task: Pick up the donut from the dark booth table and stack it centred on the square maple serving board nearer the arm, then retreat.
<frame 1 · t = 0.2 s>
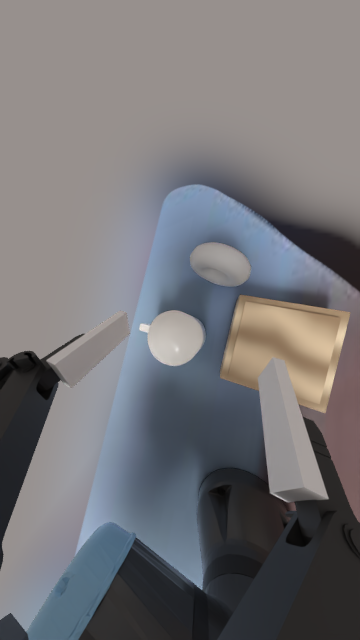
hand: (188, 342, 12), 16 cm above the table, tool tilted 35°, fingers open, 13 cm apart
maple board: (269, 345, 24), on the table
donut: (218, 278, 27), on the table
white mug: (186, 334, 28), on the table
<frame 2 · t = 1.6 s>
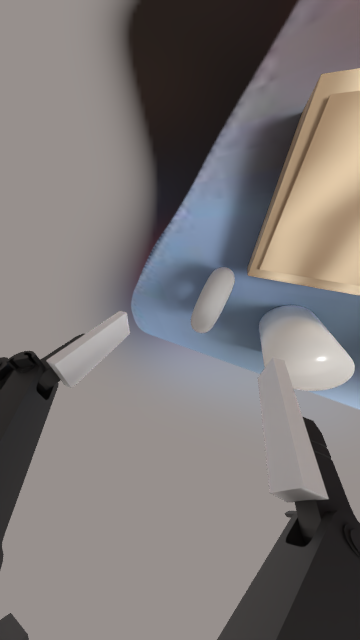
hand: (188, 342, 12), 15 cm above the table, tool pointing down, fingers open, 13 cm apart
maple board: (338, 213, 15), on the table
donut: (216, 289, 24), on the table
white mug: (285, 326, 23), on the table
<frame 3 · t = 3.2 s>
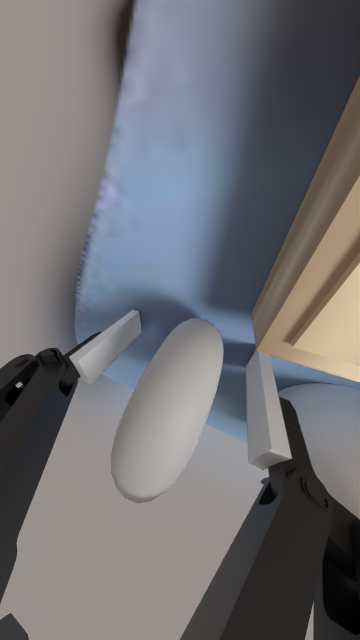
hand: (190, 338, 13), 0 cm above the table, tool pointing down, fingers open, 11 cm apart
donut: (195, 338, 13), on the table
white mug: (323, 412, 12), on the table
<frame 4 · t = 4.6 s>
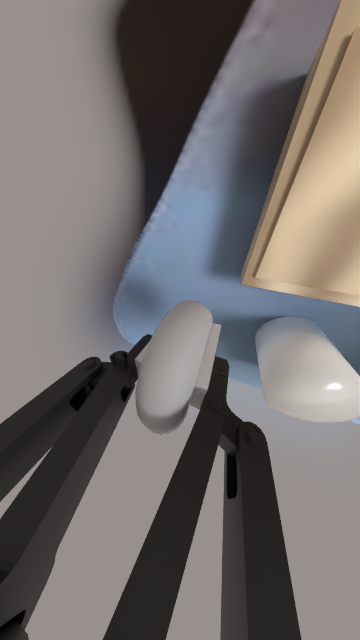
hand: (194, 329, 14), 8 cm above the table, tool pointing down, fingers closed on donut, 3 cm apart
maple board: (350, 208, 12), on the table
donut: (196, 324, 15), point 7 cm above the table, touching gripper
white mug: (285, 339, 20), on the table
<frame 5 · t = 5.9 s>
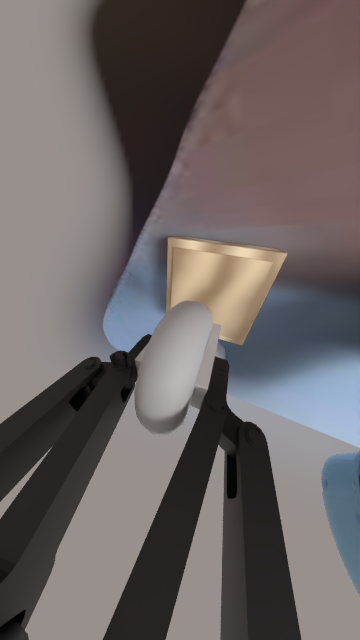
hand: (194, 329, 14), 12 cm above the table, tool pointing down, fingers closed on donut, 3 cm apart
maple board: (213, 288, 23), on the table
donut: (196, 324, 15), point 11 cm above the table, touching gripper
when the fingers open (5 cm above the table, at t = 7.4 s): donut stays where it is, resting on maple board.
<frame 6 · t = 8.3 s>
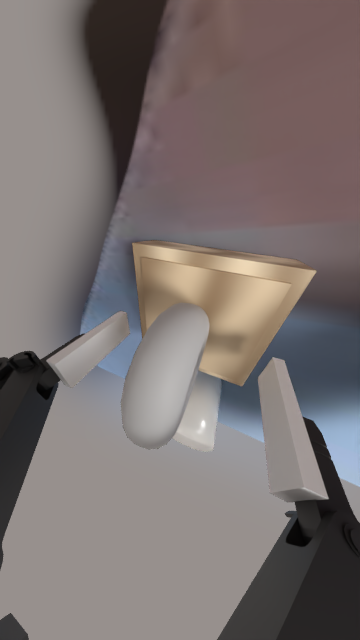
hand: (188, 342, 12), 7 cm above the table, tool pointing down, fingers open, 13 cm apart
maple board: (204, 309, 18), on the table
donut: (193, 327, 15), point 4 cm above the table, touching maple board
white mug: (200, 379, 26), on the table
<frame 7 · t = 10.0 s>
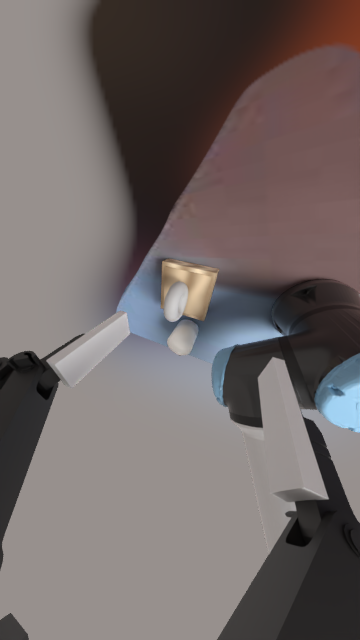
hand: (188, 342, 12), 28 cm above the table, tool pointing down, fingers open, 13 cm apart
maple board: (188, 288, 40), on the table
donut: (183, 294, 37), point 4 cm above the table, touching maple board
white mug: (187, 328, 49), on the table
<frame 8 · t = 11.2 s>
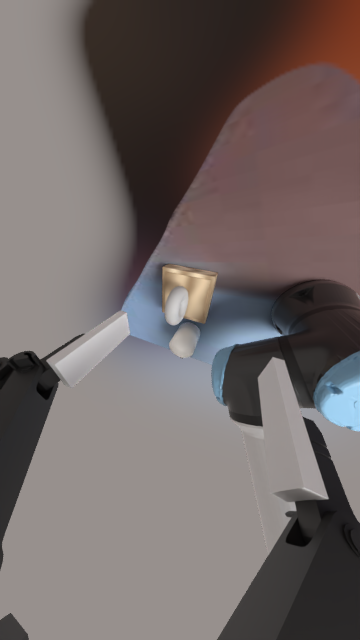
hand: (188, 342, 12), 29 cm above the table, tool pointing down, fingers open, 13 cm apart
maple board: (189, 292, 41), on the table
donut: (184, 297, 38), point 4 cm above the table, touching maple board
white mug: (189, 331, 50), on the table
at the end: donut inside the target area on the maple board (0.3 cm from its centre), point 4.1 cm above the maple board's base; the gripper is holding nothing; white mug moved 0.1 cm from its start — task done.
